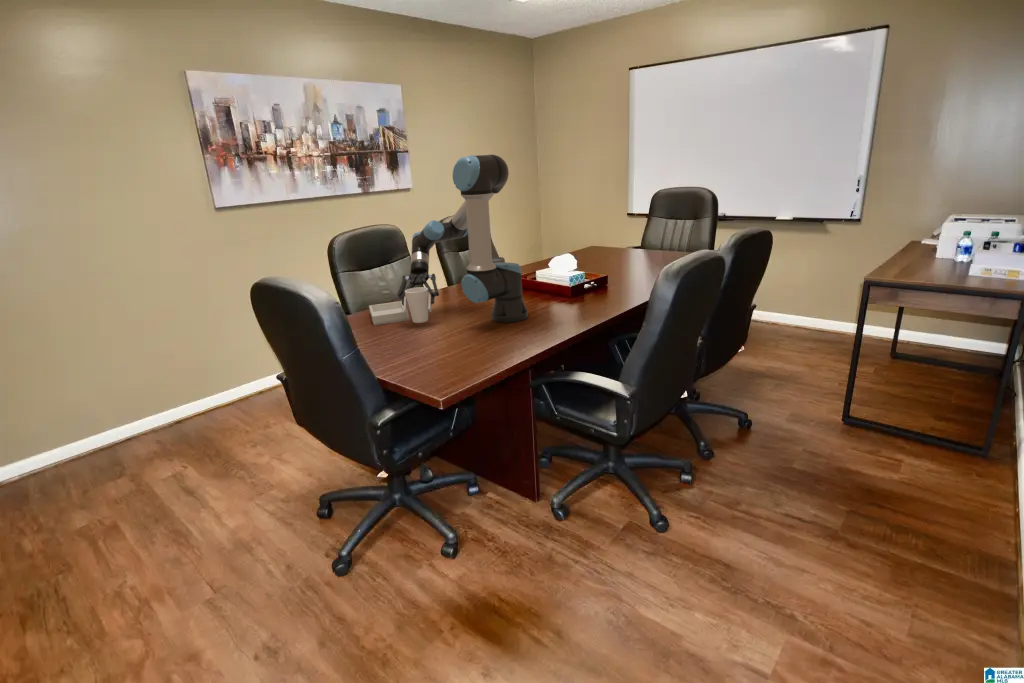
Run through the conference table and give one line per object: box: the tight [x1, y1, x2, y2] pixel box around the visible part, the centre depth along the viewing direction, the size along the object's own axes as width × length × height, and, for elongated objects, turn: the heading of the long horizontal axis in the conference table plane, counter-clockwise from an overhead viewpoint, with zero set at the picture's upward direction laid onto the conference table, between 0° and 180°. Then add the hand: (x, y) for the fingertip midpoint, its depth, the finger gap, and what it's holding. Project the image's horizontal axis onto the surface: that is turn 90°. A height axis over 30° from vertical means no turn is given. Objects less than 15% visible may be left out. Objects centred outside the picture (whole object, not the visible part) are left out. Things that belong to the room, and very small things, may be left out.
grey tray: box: [368, 300, 410, 326], centre depth 234 cm, size 20×15×4 cm
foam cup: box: [404, 286, 430, 324], centre depth 217 cm, size 10×9×13 cm
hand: (417, 311), depth 214 cm, fingers closed on foam cup, 9 cm apart
